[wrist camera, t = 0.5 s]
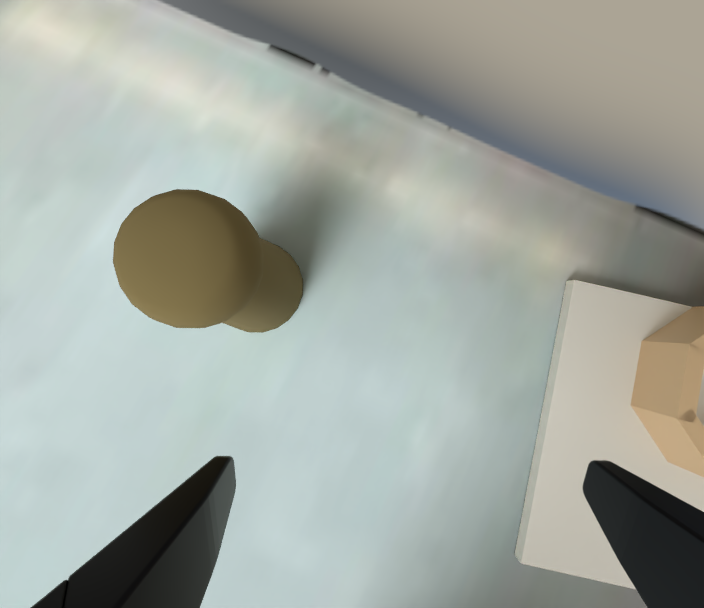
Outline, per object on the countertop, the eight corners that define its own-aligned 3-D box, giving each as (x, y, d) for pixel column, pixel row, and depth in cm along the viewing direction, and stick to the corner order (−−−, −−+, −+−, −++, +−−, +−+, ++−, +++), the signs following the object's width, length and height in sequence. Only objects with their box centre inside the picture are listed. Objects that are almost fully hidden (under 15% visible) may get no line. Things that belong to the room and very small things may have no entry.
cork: (310, 250, 22) (277, 179, 11) (293, 340, 22) (242, 357, 11) (220, 233, 22) (99, 146, 11) (202, 323, 22) (58, 324, 11)
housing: (756, 608, 22) (844, 669, 18) (514, 554, 21) (550, 604, 18) (796, 334, 23) (887, 336, 19) (566, 280, 23) (611, 272, 19)
